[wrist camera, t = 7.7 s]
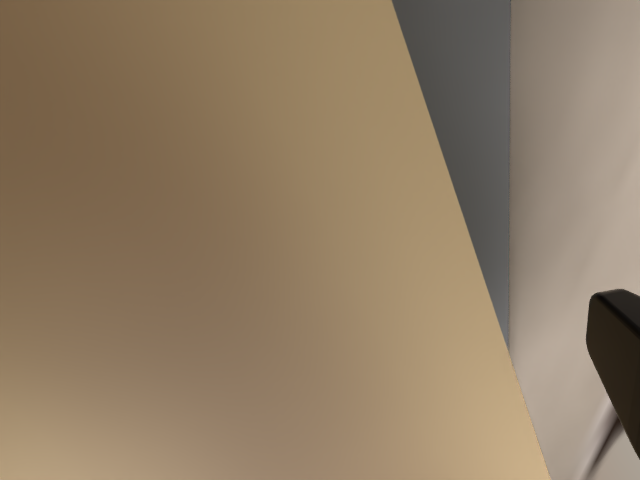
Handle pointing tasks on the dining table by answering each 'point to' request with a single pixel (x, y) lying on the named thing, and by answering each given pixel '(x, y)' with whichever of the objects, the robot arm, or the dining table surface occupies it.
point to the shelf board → (237, 253)
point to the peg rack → (470, 117)
